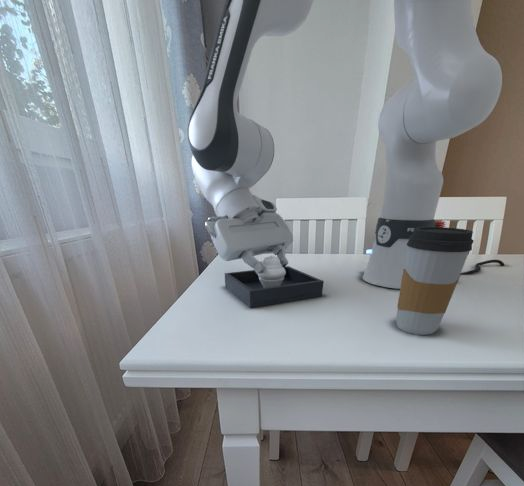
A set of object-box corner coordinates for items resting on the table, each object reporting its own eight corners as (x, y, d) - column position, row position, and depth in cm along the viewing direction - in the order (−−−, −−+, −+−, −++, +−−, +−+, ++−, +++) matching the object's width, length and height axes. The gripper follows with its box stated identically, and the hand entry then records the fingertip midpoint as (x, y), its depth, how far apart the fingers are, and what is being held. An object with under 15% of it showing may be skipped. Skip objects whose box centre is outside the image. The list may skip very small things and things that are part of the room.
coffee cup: (452, 340, 44) (489, 234, 37) (393, 335, 46) (418, 232, 38) (435, 319, 51) (463, 227, 44) (385, 315, 53) (404, 225, 46)
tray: (287, 279, 74) (288, 266, 72) (322, 296, 62) (323, 280, 61) (225, 287, 68) (224, 273, 66) (250, 308, 56) (249, 291, 54)
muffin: (285, 284, 67) (286, 252, 64) (285, 292, 62) (286, 258, 58) (258, 283, 67) (258, 252, 64) (255, 292, 62) (255, 258, 59)
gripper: (207, 205, 54) (245, 267, 53) (278, 202, 67) (310, 252, 66) (195, 229, 59) (230, 287, 58) (264, 222, 72) (293, 269, 71)
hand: (273, 268), depth 62 cm, fingers closed on muffin, 6 cm apart
